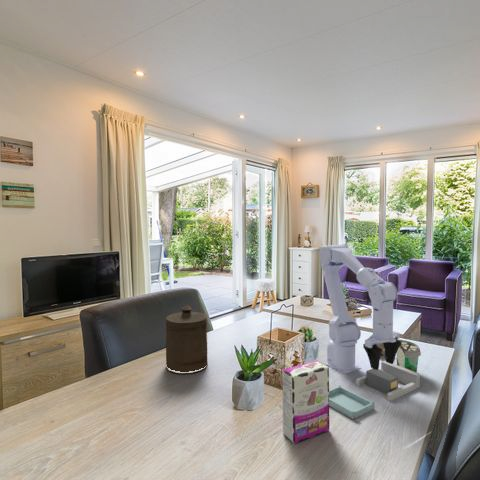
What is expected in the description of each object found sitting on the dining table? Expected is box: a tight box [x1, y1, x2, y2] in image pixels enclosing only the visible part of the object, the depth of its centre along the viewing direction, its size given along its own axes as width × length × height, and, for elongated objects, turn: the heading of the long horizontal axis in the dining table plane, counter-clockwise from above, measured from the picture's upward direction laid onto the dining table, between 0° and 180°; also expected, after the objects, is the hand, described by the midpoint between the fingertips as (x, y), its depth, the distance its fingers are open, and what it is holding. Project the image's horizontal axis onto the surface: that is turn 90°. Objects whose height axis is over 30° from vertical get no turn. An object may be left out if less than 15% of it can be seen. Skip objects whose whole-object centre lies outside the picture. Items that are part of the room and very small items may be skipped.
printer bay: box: [355, 360, 421, 402], centre depth 108 cm, size 12×15×4 cm
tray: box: [329, 385, 375, 421], centre depth 98 cm, size 12×9×2 cm
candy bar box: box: [281, 360, 330, 445], centre depth 85 cm, size 11×5×16 cm, turn 118°
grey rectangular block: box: [365, 368, 399, 394], centre depth 107 cm, size 8×4×4 cm, turn 33°
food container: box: [396, 339, 422, 373], centre depth 117 cm, size 12×6×10 cm, turn 168°
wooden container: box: [165, 305, 208, 372], centre depth 125 cm, size 15×15×22 cm
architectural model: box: [377, 343, 385, 356], centre depth 133 cm, size 3×7×7 cm, turn 117°
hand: (382, 365), depth 107 cm, fingers open, 7 cm apart
